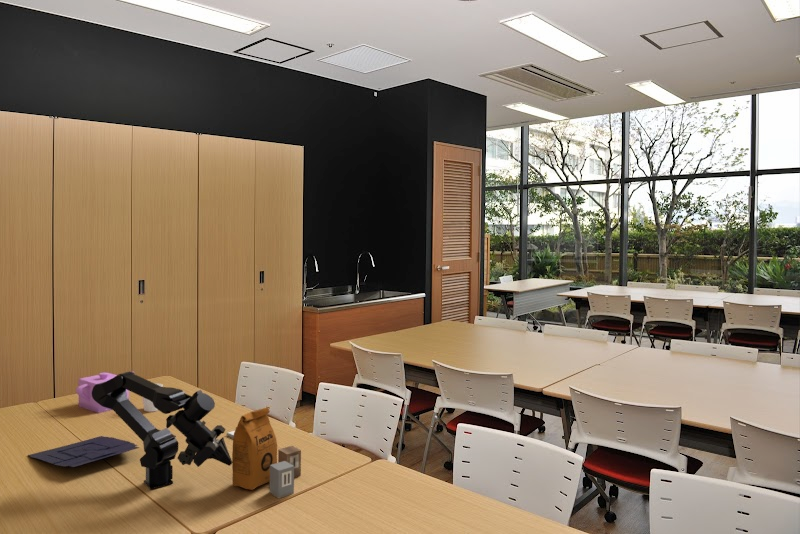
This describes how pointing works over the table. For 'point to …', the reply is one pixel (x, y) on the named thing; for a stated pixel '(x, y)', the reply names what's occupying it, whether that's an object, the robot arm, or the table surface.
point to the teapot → (86, 391)
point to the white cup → (150, 403)
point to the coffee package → (253, 450)
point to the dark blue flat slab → (85, 451)
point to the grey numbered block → (281, 479)
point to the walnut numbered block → (291, 458)
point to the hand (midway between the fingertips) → (230, 464)
